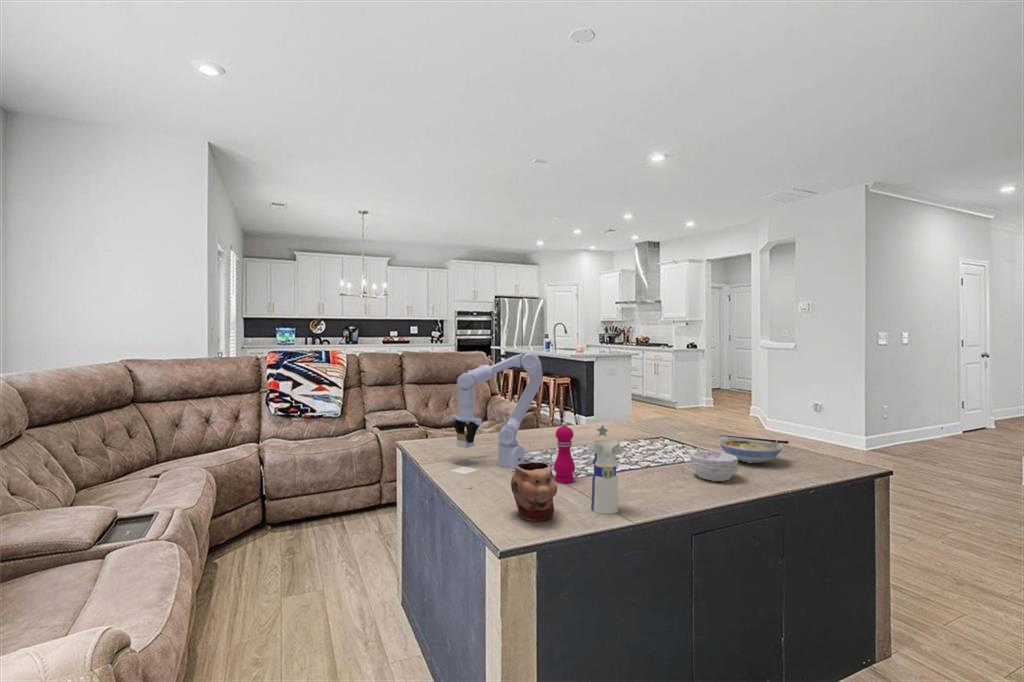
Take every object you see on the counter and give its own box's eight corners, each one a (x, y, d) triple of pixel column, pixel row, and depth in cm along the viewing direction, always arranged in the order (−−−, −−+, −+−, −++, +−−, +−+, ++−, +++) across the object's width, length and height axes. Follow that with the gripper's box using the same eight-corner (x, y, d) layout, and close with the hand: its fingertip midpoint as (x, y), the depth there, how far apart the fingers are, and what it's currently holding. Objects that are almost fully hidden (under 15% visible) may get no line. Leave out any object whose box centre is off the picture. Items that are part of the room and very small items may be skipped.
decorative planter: (499, 504, 147) (499, 457, 146) (537, 499, 151) (537, 453, 151) (527, 530, 128) (528, 476, 128) (569, 523, 133) (569, 471, 132)
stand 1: (479, 466, 188) (479, 462, 188) (465, 470, 182) (465, 466, 182) (465, 462, 192) (465, 459, 192) (452, 466, 187) (452, 463, 187)
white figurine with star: (624, 514, 139) (625, 425, 139) (594, 515, 139) (594, 425, 138) (616, 503, 148) (616, 419, 147) (587, 504, 147) (588, 419, 146)
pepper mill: (576, 478, 172) (577, 420, 172) (572, 484, 165) (572, 424, 165) (556, 476, 175) (556, 419, 174) (551, 482, 168) (551, 423, 167)
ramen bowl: (709, 463, 193) (709, 442, 193) (722, 451, 212) (722, 432, 211) (782, 474, 178) (782, 451, 178) (789, 460, 197) (789, 439, 197)
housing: (474, 445, 187) (473, 432, 187) (465, 448, 184) (465, 434, 183) (465, 443, 190) (465, 430, 190) (456, 446, 186) (456, 433, 186)
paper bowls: (718, 470, 183) (718, 448, 183) (747, 483, 168) (747, 459, 168) (681, 473, 179) (681, 451, 179) (707, 486, 164) (708, 462, 164)
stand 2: (477, 473, 178) (477, 469, 178) (464, 477, 173) (464, 474, 173) (464, 469, 183) (464, 466, 183) (450, 473, 177) (450, 470, 177)
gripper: (444, 404, 188) (444, 440, 188) (472, 408, 179) (472, 446, 179) (458, 402, 193) (458, 437, 194) (485, 406, 184) (485, 442, 184)
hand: (465, 441), depth 187 cm, fingers closed on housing, 4 cm apart
